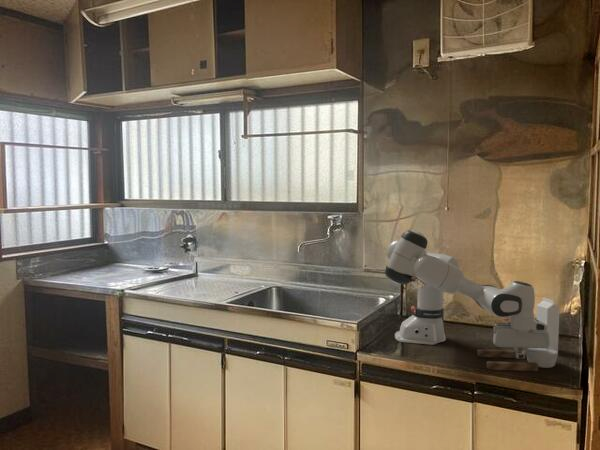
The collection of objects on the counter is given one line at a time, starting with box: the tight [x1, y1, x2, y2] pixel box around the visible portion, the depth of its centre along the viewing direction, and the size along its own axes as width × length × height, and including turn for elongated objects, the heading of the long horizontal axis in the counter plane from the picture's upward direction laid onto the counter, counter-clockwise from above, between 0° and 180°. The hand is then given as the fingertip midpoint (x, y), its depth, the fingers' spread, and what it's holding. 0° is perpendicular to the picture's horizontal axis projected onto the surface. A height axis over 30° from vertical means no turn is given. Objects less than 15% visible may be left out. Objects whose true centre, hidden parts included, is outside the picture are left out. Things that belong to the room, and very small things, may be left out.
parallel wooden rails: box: [476, 348, 539, 372], centre depth 193 cm, size 18×16×2 cm
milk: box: [536, 297, 560, 353], centre depth 206 cm, size 6×6×22 cm
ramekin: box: [525, 348, 559, 369], centre depth 192 cm, size 11×11×5 cm
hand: (520, 358), depth 193 cm, fingers closed
